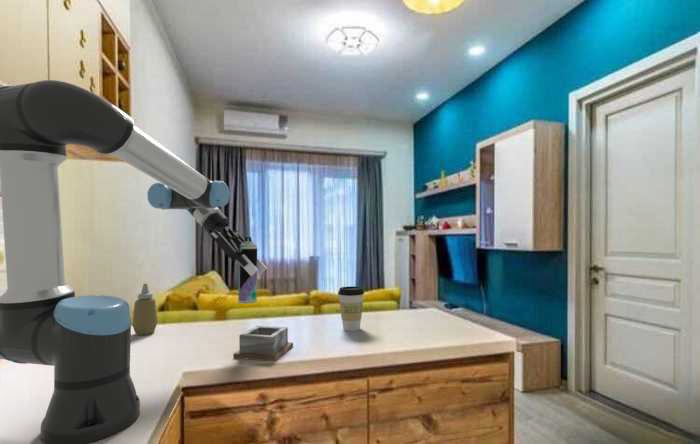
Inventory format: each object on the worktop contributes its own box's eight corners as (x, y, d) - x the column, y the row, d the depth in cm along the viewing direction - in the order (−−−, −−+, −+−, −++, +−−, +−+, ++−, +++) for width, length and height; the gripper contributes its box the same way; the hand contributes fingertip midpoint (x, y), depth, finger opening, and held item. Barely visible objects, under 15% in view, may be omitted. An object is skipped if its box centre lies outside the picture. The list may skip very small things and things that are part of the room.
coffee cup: (355, 333, 125) (355, 290, 125) (333, 330, 130) (332, 288, 131) (369, 327, 133) (369, 287, 134) (347, 324, 138) (347, 285, 139)
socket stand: (275, 360, 99) (275, 338, 99) (233, 357, 102) (233, 336, 102) (293, 346, 112) (292, 326, 112) (255, 344, 115) (255, 324, 115)
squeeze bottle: (146, 337, 125) (146, 285, 126) (126, 336, 127) (126, 285, 127) (162, 330, 133) (162, 282, 133) (144, 329, 134) (144, 282, 135)
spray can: (244, 304, 106) (245, 237, 107) (234, 302, 110) (235, 237, 110) (260, 301, 110) (260, 237, 111) (250, 299, 114) (250, 237, 114)
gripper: (220, 227, 123) (264, 276, 119) (185, 226, 105) (235, 284, 101) (234, 212, 122) (279, 261, 118) (201, 208, 104) (253, 265, 100)
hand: (259, 271), depth 109 cm, fingers closed on spray can, 5 cm apart
